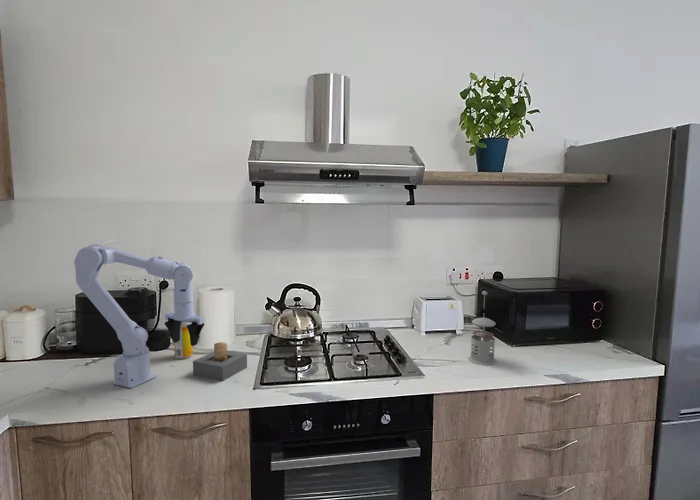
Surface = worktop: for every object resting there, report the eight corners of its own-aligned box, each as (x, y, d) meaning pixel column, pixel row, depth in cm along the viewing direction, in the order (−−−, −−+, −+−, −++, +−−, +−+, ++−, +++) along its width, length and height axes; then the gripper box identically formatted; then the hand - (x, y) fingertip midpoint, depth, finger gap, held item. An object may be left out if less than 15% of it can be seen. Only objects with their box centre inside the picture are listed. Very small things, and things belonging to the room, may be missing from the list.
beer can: (196, 354, 151) (194, 314, 149) (188, 360, 145) (186, 318, 143) (180, 353, 151) (178, 313, 150) (171, 359, 145) (169, 318, 144)
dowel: (221, 371, 132) (221, 347, 131) (211, 369, 134) (211, 345, 133) (229, 366, 136) (229, 343, 135) (220, 364, 138) (219, 341, 137)
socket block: (223, 380, 127) (222, 366, 127) (193, 374, 132) (192, 361, 131) (247, 367, 138) (246, 354, 138) (218, 361, 143) (218, 349, 142)
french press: (468, 363, 142) (470, 292, 140) (467, 352, 153) (469, 286, 151) (498, 366, 140) (501, 294, 137) (494, 354, 151) (497, 288, 149)
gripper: (210, 301, 132) (211, 342, 133) (176, 297, 137) (177, 337, 139) (194, 306, 125) (195, 349, 126) (159, 301, 131) (160, 343, 132)
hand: (185, 343), depth 132 cm, fingers open, 7 cm apart
